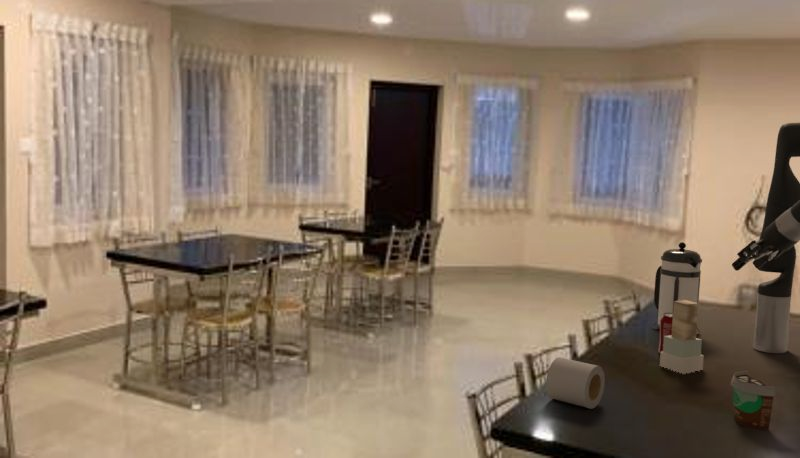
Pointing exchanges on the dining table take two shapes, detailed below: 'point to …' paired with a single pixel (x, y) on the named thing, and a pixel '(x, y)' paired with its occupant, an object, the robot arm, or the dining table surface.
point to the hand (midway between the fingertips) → (744, 266)
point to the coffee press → (677, 279)
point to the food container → (752, 401)
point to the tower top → (682, 347)
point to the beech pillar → (684, 320)
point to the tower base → (681, 363)
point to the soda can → (665, 329)
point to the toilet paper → (575, 382)
